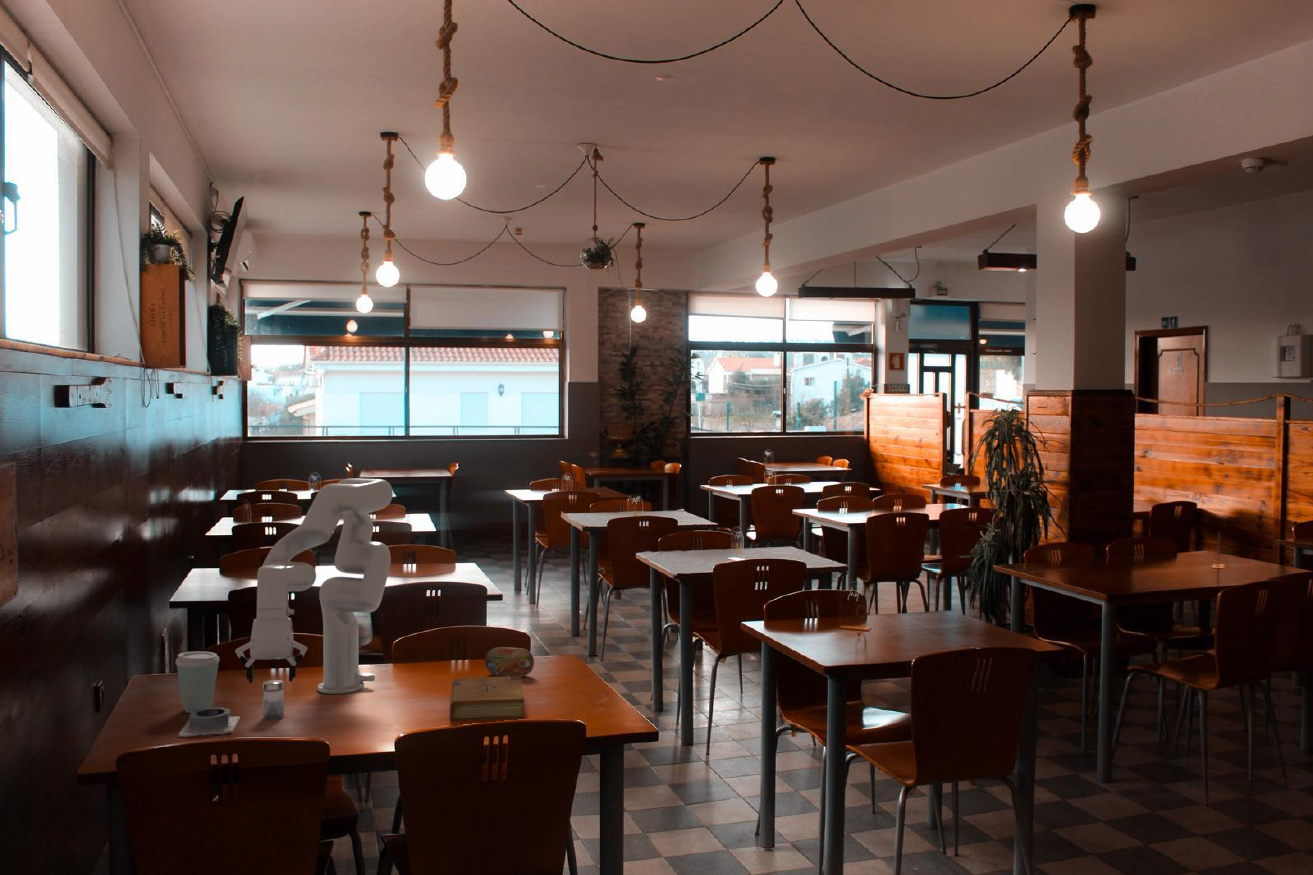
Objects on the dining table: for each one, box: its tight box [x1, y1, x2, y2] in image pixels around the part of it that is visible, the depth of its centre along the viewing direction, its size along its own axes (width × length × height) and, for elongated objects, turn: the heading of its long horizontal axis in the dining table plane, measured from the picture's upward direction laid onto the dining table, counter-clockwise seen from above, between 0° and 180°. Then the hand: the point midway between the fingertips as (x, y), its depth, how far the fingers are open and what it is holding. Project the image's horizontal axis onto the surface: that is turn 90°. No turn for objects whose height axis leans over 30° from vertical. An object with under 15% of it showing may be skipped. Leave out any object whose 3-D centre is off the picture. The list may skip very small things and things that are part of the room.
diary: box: [449, 676, 525, 722], centre depth 276 cm, size 23×19×6 cm
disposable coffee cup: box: [175, 650, 221, 714], centre depth 272 cm, size 11×11×15 cm
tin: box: [485, 646, 535, 678], centre depth 309 cm, size 15×3×8 cm, turn 73°
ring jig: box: [178, 706, 241, 738], centre depth 257 cm, size 12×12×4 cm
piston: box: [262, 679, 285, 721], centre depth 266 cm, size 5×5×9 cm
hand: (271, 681), depth 265 cm, fingers open, 9 cm apart
